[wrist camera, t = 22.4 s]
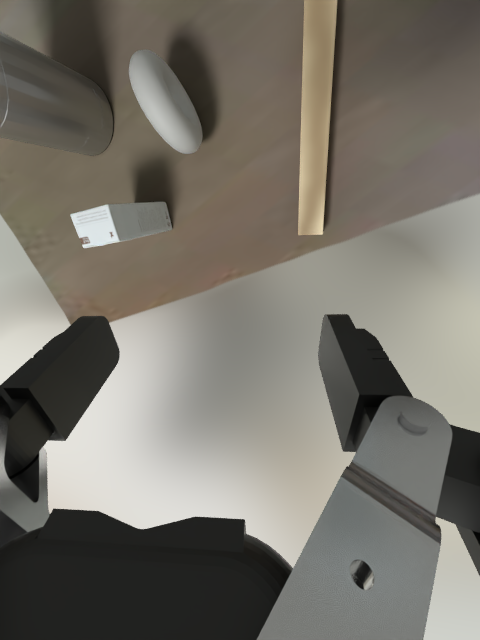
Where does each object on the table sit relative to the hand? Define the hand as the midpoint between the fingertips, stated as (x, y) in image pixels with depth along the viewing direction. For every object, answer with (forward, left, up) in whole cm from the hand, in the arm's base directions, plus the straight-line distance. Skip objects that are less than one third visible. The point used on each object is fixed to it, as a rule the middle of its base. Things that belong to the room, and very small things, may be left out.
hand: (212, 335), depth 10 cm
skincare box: (-22, +3, -30) cm, 37 cm away
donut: (-14, +15, -30) cm, 37 cm away
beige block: (+2, +12, -31) cm, 33 cm away
